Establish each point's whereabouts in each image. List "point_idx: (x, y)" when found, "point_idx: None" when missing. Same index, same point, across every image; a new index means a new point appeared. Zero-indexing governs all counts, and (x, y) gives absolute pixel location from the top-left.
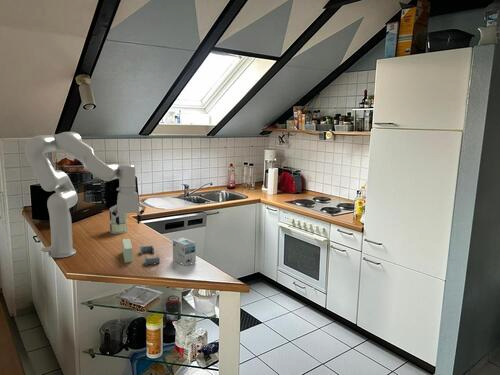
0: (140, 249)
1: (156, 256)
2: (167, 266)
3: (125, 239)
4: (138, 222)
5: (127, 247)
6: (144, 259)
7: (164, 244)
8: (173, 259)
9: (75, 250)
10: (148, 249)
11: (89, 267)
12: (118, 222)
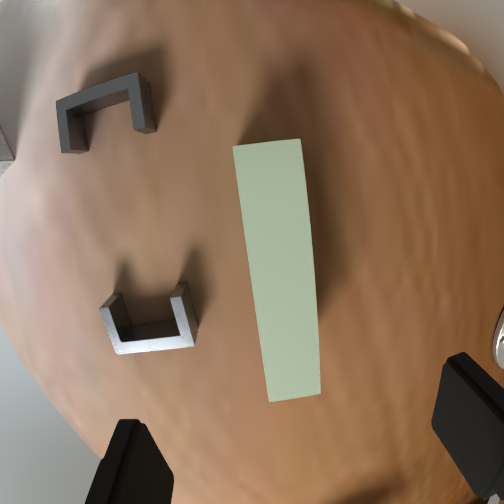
0: (188, 315)
1: (73, 145)
2: (43, 68)
3: (299, 390)
4: (129, 431)
5: (277, 175)
6: (150, 127)
7: (91, 414)
8: (8, 154)
9: (499, 340)
10: (143, 330)
11: (454, 116)
12: (478, 375)
